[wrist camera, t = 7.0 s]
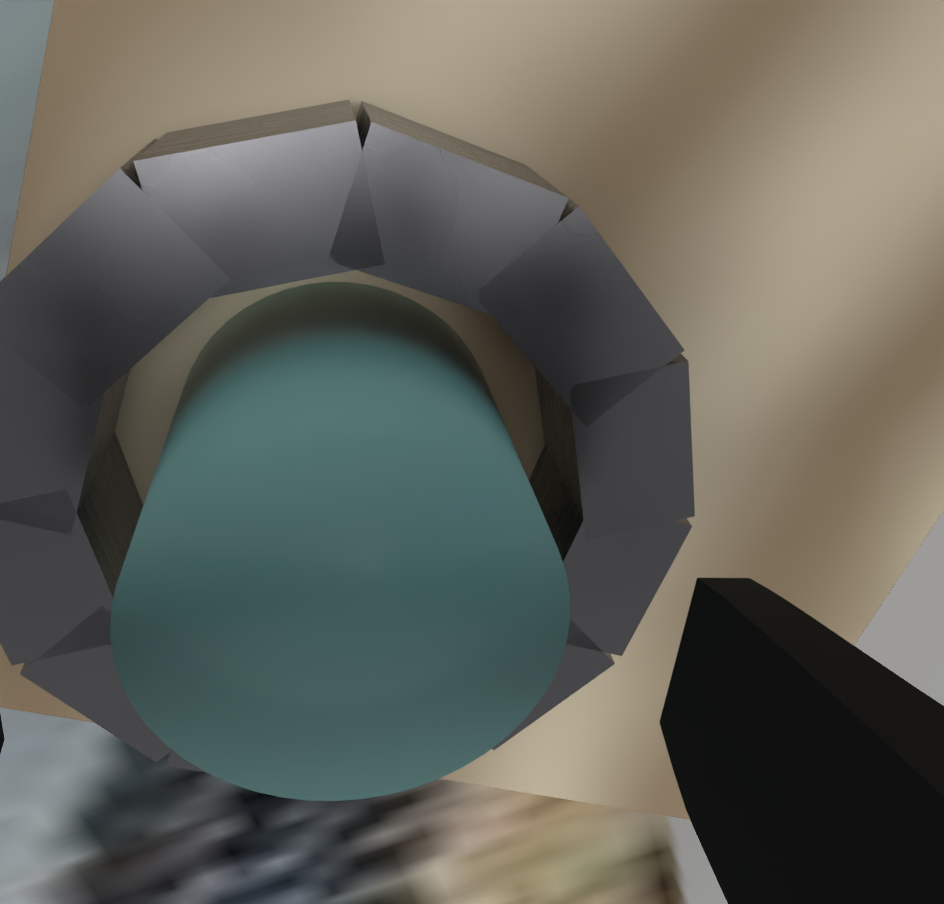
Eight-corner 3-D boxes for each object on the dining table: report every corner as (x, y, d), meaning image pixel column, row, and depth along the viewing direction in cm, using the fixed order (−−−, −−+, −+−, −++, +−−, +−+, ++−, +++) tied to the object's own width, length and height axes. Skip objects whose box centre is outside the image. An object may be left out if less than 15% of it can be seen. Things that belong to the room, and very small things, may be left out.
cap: (528, 318, 13) (630, 477, 9) (450, 579, 15) (502, 813, 11) (201, 250, 12) (134, 393, 8) (161, 540, 14) (91, 786, 10)
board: (1331, -190, 13) (1419, -207, 12) (712, 784, 21) (734, 826, 19) (258, -974, 8) (250, -1114, 7) (-43, 650, 16) (-68, 696, 15)
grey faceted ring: (740, 248, 14) (818, 294, 11) (504, 720, 17) (531, 822, 15) (75, -11, 11) (15, -14, 9) (-41, 617, 14) (-102, 725, 12)
